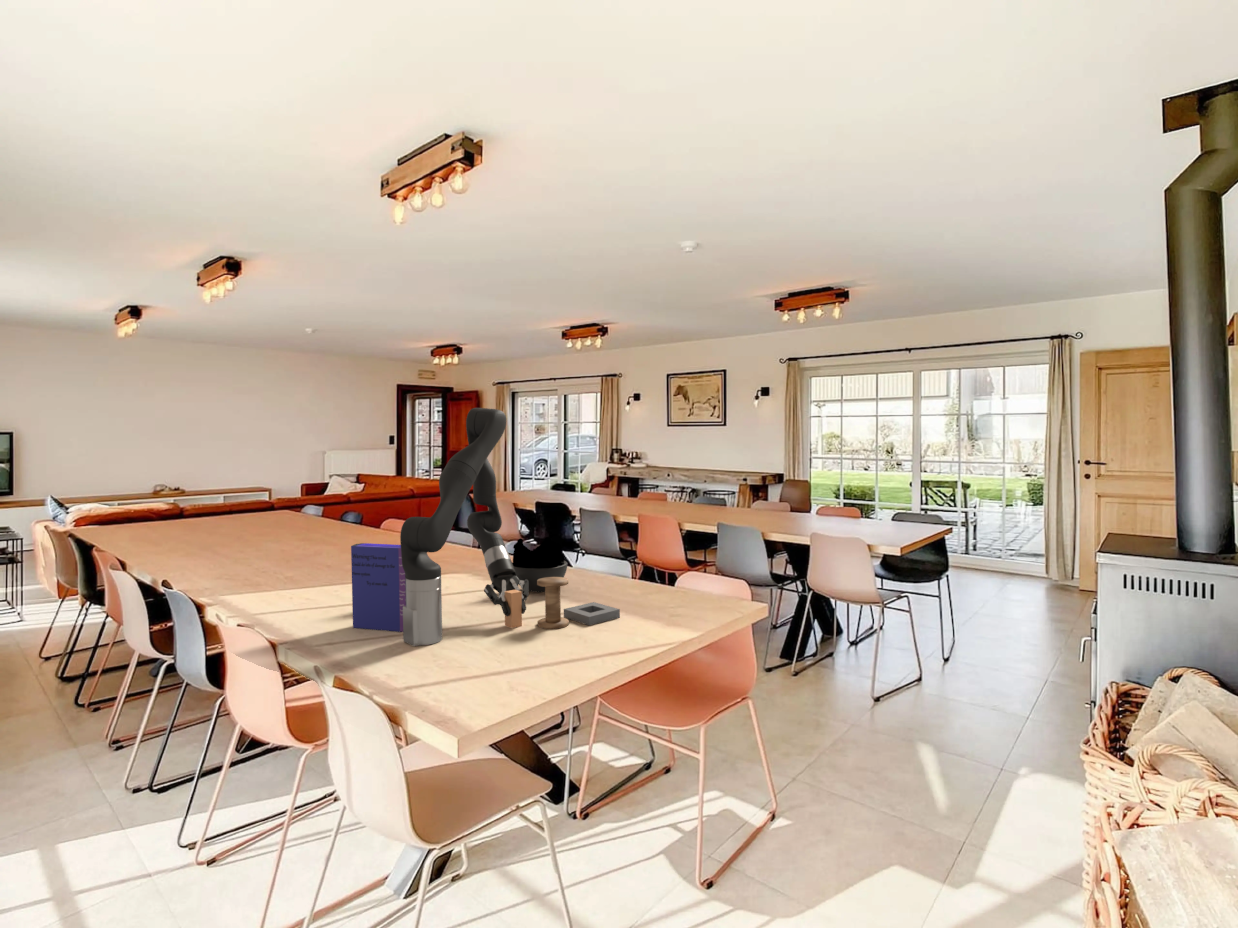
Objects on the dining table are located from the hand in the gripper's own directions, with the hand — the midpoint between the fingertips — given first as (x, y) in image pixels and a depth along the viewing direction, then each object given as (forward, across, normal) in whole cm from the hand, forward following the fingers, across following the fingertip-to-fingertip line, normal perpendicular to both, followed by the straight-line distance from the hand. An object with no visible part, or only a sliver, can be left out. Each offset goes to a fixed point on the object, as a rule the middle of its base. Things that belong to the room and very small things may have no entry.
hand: (516, 613), depth 185 cm
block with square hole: (+5, +23, +1) cm, 24 cm away
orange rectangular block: (+2, 0, +4) cm, 5 cm away
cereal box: (-12, -32, +18) cm, 38 cm away
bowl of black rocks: (-22, +24, +28) cm, 43 cm away
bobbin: (+5, +10, 0) cm, 11 cm away
